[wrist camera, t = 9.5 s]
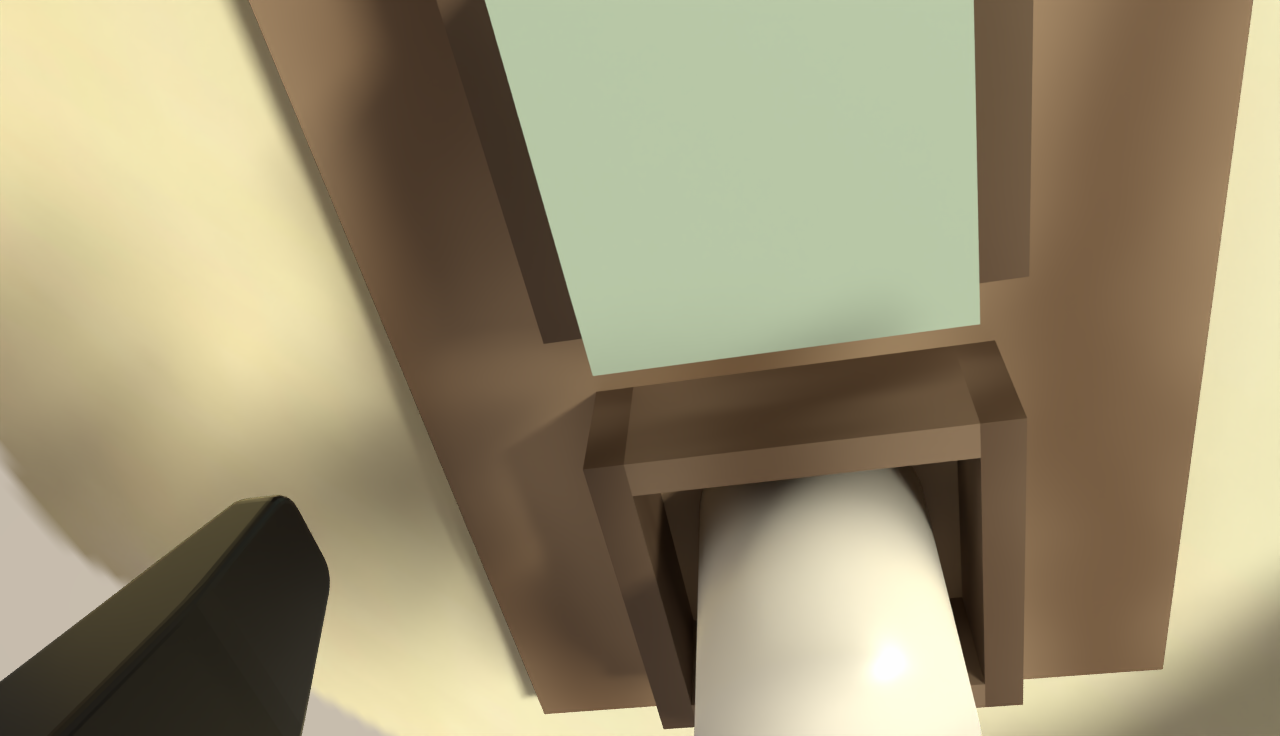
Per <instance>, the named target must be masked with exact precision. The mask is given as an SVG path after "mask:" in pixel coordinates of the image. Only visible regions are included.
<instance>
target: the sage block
mask: <svg viewBox="0 0 1280 736" xmlns="http://www.w3.org/2000/svg"><path fill="white" fill-rule="evenodd" d="M485 3H486V6H487V10H488V13H489V16H490V20H491V23H492V27H493V30H494V34H495V37H496V41H497V44H498V48H499V51H500V55H501V58H502V62H503V65H504V69H505V72H506V76H507V79H508V83H509V86H510V89H511V93H512V96H513V100H514V103H515V107H516V110H517V114H518V117H519V121H520V124H521V128H522V131H523V135H524V138H525V142H526V145H527V149H528V152H529V156H530V159H531V162H532V166H533V169H534V173H535V176H536V180H537V183H538V187H539V190H540V194H541V197H542V201H543V204H544V208H545V211H546V215H547V218H548V222H549V225H550V228H551V232H552V235H553V239H554V242H555V246H556V249H557V253H558V256H559V260H560V263H561V267H562V270H563V274H564V277H565V281H566V284H567V288H568V291H569V295H570V298H571V301H572V305H573V308H574V312H575V315H576V319H577V322H578V326H579V329H580V333H581V336H582V340H583V343H584V347H585V350H586V354H587V357H588V361H589V364H590V368H591V371H592V374H593V376H597V375H605V374H612V373H620V372H627V371H635V370H642V369H649V368H657V367H664V366H672V365H679V364H687V363H694V362H702V361H709V360H717V359H724V358H732V357H739V356H746V355H754V354H761V353H769V352H776V351H784V350H791V349H799V348H806V347H814V346H821V345H829V344H836V343H843V342H851V341H858V340H866V339H873V338H881V337H888V336H896V335H903V334H911V333H918V332H926V331H933V330H941V329H948V328H955V327H963V326H970V325H978V324H980V290H979V240H978V190H977V140H976V90H975V40H974V0H485Z"/></svg>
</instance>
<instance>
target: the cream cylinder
mask: <svg viewBox="0 0 1280 736" xmlns="http://www.w3.org/2000/svg"><path fill="white" fill-rule="evenodd" d="M694 736H982V734H981V726H980V722H979V718H978V714H977V710H976V706H975V702H974V698H973V693H972V689H971V685H970V681H969V677H968V673H967V669H966V665H965V661H964V657H963V653H962V649H961V645H960V641H959V637H958V633H957V629H956V625H955V621H954V616H953V612H952V608H951V604H950V600H949V596H948V592H947V588H946V584H945V580H944V576H943V572H942V568H941V564H940V560H939V556H938V552H937V548H936V544H935V540H934V535H933V531H932V527H931V523H930V519H929V515H928V511H927V507H926V503H925V499H924V495H923V491H922V488H921V485H920V482H919V479H918V477H917V475H916V474H915V472H914V470H913V468H912V467H911V466H902V467H893V468H884V469H875V470H866V471H857V472H848V473H839V474H829V475H820V476H811V477H802V478H793V479H784V480H775V481H766V482H757V483H748V484H739V485H729V486H720V487H711V488H704V489H703V492H702V497H701V501H700V530H699V570H698V609H697V649H696V689H695V728H694Z"/></svg>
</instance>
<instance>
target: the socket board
mask: <svg viewBox="0 0 1280 736" xmlns="http://www.w3.org/2000/svg"><path fill="white" fill-rule="evenodd" d="M249 3H250V5H251V8H252V10H253V12H254V15H255V17H256V20H257V22H258V24H259V27H260V29H261V32H262V34H263V36H264V39H265V41H266V44H267V46H268V48H269V51H270V53H271V56H272V58H273V61H274V63H275V65H276V68H277V70H278V73H279V75H280V77H281V80H282V82H283V85H284V87H285V89H286V92H287V94H288V97H289V99H290V102H291V104H292V106H293V109H294V111H295V114H296V116H297V118H298V121H299V123H300V126H301V128H302V130H303V133H304V135H305V138H306V140H307V142H308V145H309V147H310V150H311V152H312V155H313V157H314V159H315V162H316V164H317V167H318V169H319V171H320V174H321V176H322V179H323V181H324V183H325V186H326V188H327V191H328V193H329V196H330V198H331V200H332V203H333V205H334V208H335V210H336V212H337V215H338V217H339V220H340V222H341V224H342V227H343V229H344V232H345V234H346V236H347V239H348V241H349V244H350V246H351V249H352V251H353V253H354V256H355V258H356V261H357V263H358V265H359V268H360V270H361V273H362V275H363V277H364V280H365V282H366V285H367V287H368V290H369V292H370V294H371V297H372V299H373V302H374V304H375V306H376V309H377V311H378V314H379V316H380V318H381V321H382V323H383V326H384V328H385V330H386V333H387V335H388V338H389V340H390V343H391V345H392V347H393V350H394V352H395V355H396V357H397V359H398V362H399V364H400V367H401V369H402V371H403V374H404V376H405V379H406V381H407V384H408V386H409V388H410V391H411V393H412V396H413V398H414V400H415V403H416V405H417V408H418V410H419V412H420V415H421V417H422V420H423V422H424V424H425V427H426V429H427V432H428V434H429V437H430V439H431V441H432V444H433V446H434V449H435V451H436V453H437V456H438V458H439V461H440V463H441V465H442V468H443V470H444V473H445V475H446V477H447V480H448V482H449V485H450V487H451V490H452V492H453V494H454V497H455V499H456V502H457V504H458V506H459V509H460V511H461V514H462V516H463V518H464V521H465V523H466V526H467V528H468V531H469V533H470V535H471V538H472V540H473V543H474V545H475V547H476V550H477V552H478V555H479V557H480V559H481V562H482V564H483V567H484V569H485V571H486V574H487V576H488V579H489V581H490V584H491V586H492V588H493V591H494V593H495V596H496V598H497V600H498V603H499V605H500V608H501V610H502V612H503V615H504V617H505V620H506V622H507V625H508V627H509V629H510V632H511V634H512V637H513V639H514V641H515V644H516V646H517V649H518V651H519V653H520V656H521V658H522V661H523V663H524V665H525V668H526V670H527V673H528V675H529V678H530V680H531V682H532V685H533V687H534V690H535V692H536V694H537V697H538V699H539V702H540V704H541V706H542V709H543V711H544V714H552V713H565V712H579V711H593V710H607V709H620V708H634V707H648V706H657V709H658V712H659V716H660V719H661V722H662V725H663V728H664V729H673V728H687V727H695V689H696V649H697V609H698V570H699V530H700V501H701V497H702V492H703V489H704V488H711V487H720V486H729V485H739V484H748V483H757V482H766V481H775V480H784V479H793V478H802V477H811V476H820V475H829V474H839V473H848V472H857V471H866V470H875V469H884V468H893V467H902V466H911V467H912V468H913V470H914V472H915V474H916V475H917V477H918V479H919V482H920V485H921V488H922V491H923V495H924V499H925V503H926V507H927V511H928V515H929V519H930V523H931V527H932V531H933V535H934V540H935V544H936V548H937V552H938V556H939V560H940V564H941V568H942V572H943V576H944V580H945V584H946V588H947V592H948V596H949V600H950V604H951V608H952V612H953V616H954V621H955V625H956V629H957V633H958V637H959V641H960V645H961V649H962V653H963V657H964V661H965V665H966V669H967V673H968V677H969V681H970V685H971V689H972V693H973V698H974V702H975V706H976V708H980V707H994V706H1009V705H1023V679H1034V678H1048V677H1061V676H1075V675H1089V674H1103V673H1116V672H1130V671H1144V670H1158V669H1163V663H1164V655H1165V648H1166V640H1167V633H1168V626H1169V618H1170V611H1171V604H1172V596H1173V589H1174V581H1175V574H1176V567H1177V559H1178V552H1179V544H1180V537H1181V530H1182V522H1183V515H1184V507H1185V500H1186V493H1187V485H1188V478H1189V470H1190V463H1191V456H1192V448H1193V441H1194V434H1195V426H1196V419H1197V411H1198V404H1199V397H1200V389H1201V382H1202V374H1203V367H1204V360H1205V352H1206V345H1207V337H1208V330H1209V323H1210V315H1211V308H1212V300H1213V293H1214V286H1215V278H1216V271H1217V263H1218V256H1219V249H1220V241H1221V234H1222V227H1223V219H1224V212H1225V204H1226V197H1227V190H1228V182H1229V175H1230V167H1231V160H1232V153H1233V145H1234V138H1235V130H1236V123H1237V116H1238V108H1239V101H1240V93H1241V86H1242V79H1243V71H1244V64H1245V57H1246V49H1247V42H1248V34H1249V27H1250V20H1251V12H1252V5H1253V0H974V40H975V90H976V140H977V190H978V240H979V290H980V324H978V325H970V326H963V327H955V328H948V329H941V330H933V331H926V332H918V333H911V334H903V335H896V336H888V337H881V338H873V339H866V340H858V341H851V342H843V343H836V344H829V345H821V346H814V347H806V348H799V349H791V350H784V351H776V352H769V353H761V354H754V355H746V356H739V357H732V358H724V359H717V360H709V361H702V362H694V363H687V364H679V365H672V366H664V367H657V368H649V369H642V370H635V371H627V372H620V373H612V374H605V375H597V376H593V374H592V371H591V368H590V364H589V361H588V357H587V354H586V350H585V347H584V343H583V340H582V336H581V333H580V329H579V326H578V322H577V319H576V315H575V312H574V308H573V305H572V301H571V298H570V295H569V291H568V288H567V284H566V281H565V277H564V274H563V270H562V267H561V263H560V260H559V256H558V253H557V249H556V246H555V242H554V239H553V235H552V232H551V228H550V225H549V222H548V218H547V215H546V211H545V208H544V204H543V201H542V197H541V194H540V190H539V187H538V183H537V180H536V176H535V173H534V169H533V166H532V162H531V159H530V156H529V152H528V149H527V145H526V142H525V138H524V135H523V131H522V128H521V124H520V121H519V117H518V114H517V110H516V107H515V103H514V100H513V96H512V93H511V89H510V86H509V83H508V79H507V76H506V72H505V69H504V65H503V62H502V58H501V55H500V51H499V48H498V44H497V41H496V37H495V34H494V30H493V27H492V23H491V20H490V16H489V13H488V10H487V6H486V3H485V0H249Z"/></svg>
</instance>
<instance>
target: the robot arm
mask: <svg viewBox="0 0 1280 736" xmlns="http://www.w3.org/2000/svg"><path fill="white" fill-rule="evenodd" d="M329 587H330V578H329V571H328V567H327V564H326V561H325V559H324V557H323V555H322V553H321V551H320V549H319V547H318V546H317V544H316V542H315V540H314V538H313V536H312V534H311V532H310V531H309V529H308V527H307V525H306V523H305V521H304V519H303V517H302V516H301V514H300V512H299V510H298V508H297V507H296V505H295V504H294V502H292V501H291V500H290V499H289V498H287V497H285V496H281V495H274V496H265V497H256V498H247V499H243V500H239V501H237V502H235V503H233V504H232V505H230V506H229V507H228V508H227V509H225V510H224V511H223V512H221V513H220V514H219V515H217V516H216V517H215V518H213V519H212V520H211V521H210V522H208V523H207V524H206V525H204V526H203V527H202V528H200V529H199V530H198V531H196V532H195V533H194V534H193V535H191V536H190V537H189V538H187V539H186V540H185V541H183V542H182V543H181V544H180V545H178V546H177V547H176V548H174V549H173V550H172V551H170V552H169V553H168V554H166V555H165V556H164V557H163V558H161V559H160V560H159V561H157V562H156V563H155V564H153V565H152V566H151V567H149V568H148V569H147V570H146V571H144V572H143V573H142V574H140V575H139V576H138V577H136V578H135V579H134V580H132V581H131V582H130V583H129V584H127V585H126V586H125V587H123V588H122V589H121V590H119V591H118V592H117V593H116V594H114V595H113V596H112V597H110V598H109V599H108V600H106V601H105V602H104V603H102V604H101V605H100V606H99V607H97V608H96V609H95V610H93V611H92V612H91V613H89V614H88V615H87V616H85V617H84V618H83V619H82V620H80V621H79V622H78V623H76V624H75V625H74V626H72V627H71V628H70V629H68V630H67V631H66V632H65V633H63V634H62V635H61V636H59V637H58V638H57V639H55V640H54V641H53V642H51V643H50V644H49V645H48V646H46V647H45V648H44V649H42V650H41V651H40V652H39V653H37V654H36V655H35V656H33V657H32V658H31V659H29V660H28V661H27V662H25V663H24V664H23V665H22V666H20V667H19V668H18V669H16V670H15V671H14V672H13V673H11V674H10V675H8V676H7V677H6V678H4V679H3V680H2V681H1V682H0V736H301V735H302V730H303V726H304V721H305V716H306V710H307V705H308V700H309V695H310V689H311V684H312V679H313V674H314V668H315V663H316V658H317V653H318V647H319V642H320V637H321V632H322V626H323V621H324V616H325V611H326V605H327V600H328V595H329Z"/></svg>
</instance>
